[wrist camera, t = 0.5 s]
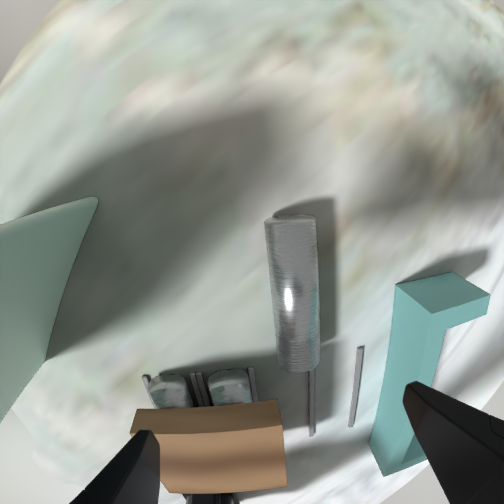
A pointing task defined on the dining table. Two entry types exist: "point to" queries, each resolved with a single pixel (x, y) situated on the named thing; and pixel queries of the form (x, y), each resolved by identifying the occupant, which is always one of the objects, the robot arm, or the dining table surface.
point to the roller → (294, 290)
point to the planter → (34, 287)
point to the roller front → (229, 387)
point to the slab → (218, 447)
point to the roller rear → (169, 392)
